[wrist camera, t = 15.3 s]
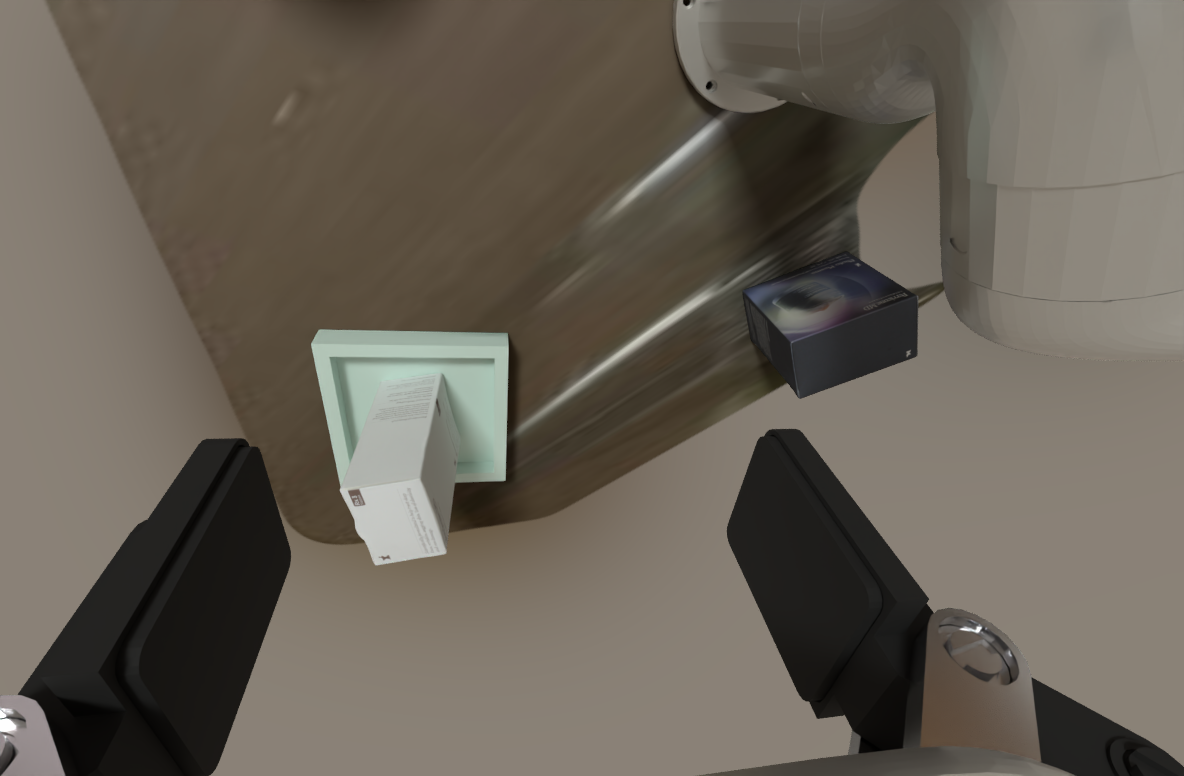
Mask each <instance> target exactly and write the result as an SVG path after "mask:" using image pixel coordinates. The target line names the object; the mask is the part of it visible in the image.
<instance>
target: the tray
mask: <svg viewBox="0 0 1184 776" xmlns="http://www.w3.org/2000/svg"><path fill="white" fill-rule="evenodd" d="M311 346H312V351H313V356H314V360H315V365H316V370H317V375H318V380H319V384H320V389H321V394H322V399H323V404H324V408H325V413H326V418H327V423H328V428H329V432H330V437H331V442H332V447H333V452H334V456H335V461H336V466H337V471H338V476H339V480H340V485H341V486H342V483H343V481H344V478H345V475H346V473H347V470H348V467H349V465H350V462H351V460H352V457H353V454H354V451H355V449H356V446H357V444H358V441H359V438H360V435H361V433H362V430H363V428H364V425H365V422H366V420H367V417H368V414H369V412H370V409H371V406H372V404H373V401H374V398H375V395H376V393H377V390H378V388H379V385H380V382H381V381H385V380H392V379H399V378H406V377H413V376H421V375H428V374H435V373H442V374H443V378H444V383H445V388H446V392H447V396H448V400H449V404H450V407H451V411H452V414H453V417H454V421H455V424H456V427H457V429H458V431H459V434H460V447H459V454H458V462H457V469H456V478H455V483H456V482H486V481H506V440H507V396H508V353H509V344H508V333H476V332H422V331H367V330H318V332H317V334H316V336H315V338H314V339H313V341H312V343H311Z"/></svg>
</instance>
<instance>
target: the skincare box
mask: <svg viewBox="0 0 1184 776" xmlns="http://www.w3.org/2000/svg"><path fill="white" fill-rule="evenodd" d="M459 447H460V434H459V431H458V429H457V427H456V424H455V421H454V417H453V414H452V411H451V407H450V404H449V400H448V396H447V392H446V388H445V383H444V378H443V374H442V373H435V374H428V375H421V376H413V377H406V378H399V379H392V380H385V381H381V382H380V385H379V388H378V390H377V393H376V395H375V398H374V401H373V404H372V406H371V409H370V412H369V414H368V417H367V420H366V422H365V425H364V428H363V430H362V433H361V435H360V438H359V441H358V444H357V446H356V449H355V451H354V454H353V457H352V460H351V462H350V465H349V467H348V470H347V473H346V475H345V478H344V481H343V483H342V486H341V489H340V492H341V494H342V496H343V498H344V500H345V502H346V504H347V506H348V508H349V510H350V512H351V514H352V516H353V518H354V520H355V528H356V531H357V533H358V534H359V536H360V537H361V538H362V539H363V540H364V541H365V543H366V545H367V546H368V549H369V551H370V554H371V557H372V560H373V563H374V564H375V565H382V564H387V563H393V562H399V561H405V560H410V559H416V558H422V557H430V556H437V555H443V554H446V553H447V541H448V533H449V525H450V517H451V509H452V501H453V494H454V486H455V478H456V469H457V462H458V454H459Z"/></svg>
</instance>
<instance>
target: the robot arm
mask: <svg viewBox="0 0 1184 776" xmlns="http://www.w3.org/2000/svg"><path fill="white" fill-rule="evenodd" d="M673 35H674V44H675V49H676V52H677V56H678V59H679V62H680V65H681V67H682V69H683V71H684V73H685V75H686V77H687V79H688V81H689V82H690V83H691V84H692V86H693V87H694V88H695V90H696V91H697V92H698V93H699V94H700V95H701V96H703V97H704V98H705V99H706V100H708V101H709V102H710V103H712V104H714V105H716V106H718V107H720V108H722V109H726V110H729V111H732V112H738V113H748V114H749V113H757V112H764V111H767V110H770V109H773V108H776V107H779V106H781V105H782V104H784V103H786V102H792V103H796V104H800V105H803V106H807V107H811V108H814V109H818V110H822V111H825V112H829V113H833V114H837V115H840V116H844V117H848V118H851V119H855V120H859V121H863V122H870V123H877V124H888V123H899V122H904V121H908V120H912V119H915V118H918V117H921V116H924V115H927V114H929V113H932V112H934V111H936V123H937V155H938V158H939V189H940V245H941V267H942V276H943V285H944V289H945V293H946V297H947V299H948V302H949V304H950V306H951V308H952V309H953V311H954V313H955V314H956V316H957V317H958V318H959V319H960V321H962V322H963V323H964V324H965V325H966V326H967V327H969V328H970V329H971V330H972V331H974V332H975V333H977V334H978V335H980V336H982V337H984V338H986V339H988V340H990V341H993V342H995V343H997V344H1000V345H1003V346H1006V347H1009V348H1013V349H1016V350H1020V351H1025V352H1030V353H1034V354H1039V355H1046V356H1055V357H1062V358H1074V359H1088V360H1113V361H1114V360H1115V361H1184V0H689V2H688V5H687V6H685V5H684V4H683V0H674V5H673ZM709 81H710V83H711V86H710V88H709V89H706V84H707V82H709ZM727 537H728V541H729V544H730V546H731V549H732V551H733V553H734V555H735V557H736V559H737V562H738V564H739V566H740V568H741V570H742V572H743V575H744V577H745V579H746V581H747V583H748V585H749V588H750V590H751V592H752V594H753V596H754V598H755V601H756V603H757V605H758V607H759V609H760V612H761V613H762V616H763V618H764V620H765V622H766V625H767V627H768V629H769V631H770V633H771V635H772V637H773V640H774V642H775V644H776V646H777V648H778V650H779V653H780V655H781V657H782V659H783V661H784V663H785V666H786V668H787V670H788V672H789V674H790V677H791V679H792V681H793V683H794V685H795V687H796V690H797V692H798V693H799V695H800V696H801V698H802V699H803V700H805V701H809V702H810V704H811V706H812V709H813V711H814V713H815V715H816V717H817V718H818V719H820V718H828V717H835V716H843V715H845V716H846V718H847V720H848V722H849V724H850V726H851V728H852V734H851V740H850V747H849V752H848V755H845V756H837V757H828V758H820V759H813V760H805V761H798V762H791V763H784V764H778V765H770V766H763V767H756V768H749V769H741V770H734V771H728V772H720V773H713V774H706V775H699V776H1184V767H1183V766H1182V765H1181V764H1180V763H1179V762H1177V761H1176V760H1175V759H1174V758H1173V757H1171V756H1170V755H1169V754H1168V753H1166V752H1165V751H1164V750H1162V749H1160V748H1159V747H1157V746H1156V745H1154V744H1153V743H1151V742H1150V741H1148V740H1146V739H1144V738H1143V737H1141V736H1139V735H1137V734H1135V733H1133V732H1132V731H1130V730H1128V729H1126V728H1124V727H1122V726H1120V725H1119V724H1117V723H1114V722H1113V721H1111V720H1109V719H1107V718H1106V717H1104V716H1102V715H1100V714H1098V713H1096V712H1095V711H1093V710H1091V709H1089V708H1087V707H1085V706H1083V705H1082V704H1080V703H1078V702H1076V701H1074V700H1072V699H1071V698H1068V697H1067V696H1065V695H1063V694H1061V693H1059V692H1058V691H1056V690H1054V689H1052V688H1050V687H1048V686H1047V685H1045V684H1043V683H1041V682H1039V681H1037V680H1036V679H1033V678H1032V677H1031V673H1030V670H1029V667H1028V663H1027V661H1026V659H1025V658H1024V656H1023V654H1022V653H1021V651H1020V650H1019V648H1018V647H1017V646H1016V645H1015V644H1014V643H1013V642H1012V640H1011V639H1010V638H1009V637H1008V636H1007V635H1006V634H1005V633H1003V632H1002V631H1001V630H1000V629H998V628H997V627H996V626H994V625H993V624H992V623H990V622H988V621H986V620H985V619H983V618H981V617H979V616H978V615H976V614H973V613H970V612H967V611H964V610H961V609H954V608H945V609H941V610H937V611H936V612H935V613H933V611H932V610H931V609H930V607H929V606H928V605H927V602H928V600H929V598H928V597H927V596H926V594H925V593H924V592H923V590H922V589H921V588H920V586H919V585H918V584H917V582H916V581H915V580H914V579H913V577H912V576H911V575H910V573H909V572H908V571H907V569H906V568H905V567H904V565H903V564H902V563H901V561H900V560H899V559H898V558H897V556H896V555H895V554H894V553H893V551H892V550H891V549H890V547H889V546H888V544H887V543H886V542H885V541H884V539H883V538H882V537H881V536H880V534H879V533H878V531H877V530H876V529H875V527H874V526H873V525H872V523H871V522H870V521H869V520H868V518H867V517H866V516H865V514H864V513H863V512H862V510H861V509H860V508H859V506H858V505H857V504H856V502H855V501H854V500H853V499H852V497H851V496H850V495H849V493H848V492H847V491H846V489H845V488H844V487H843V485H842V484H841V483H840V481H839V480H838V479H837V478H836V476H835V475H834V474H833V472H832V471H831V470H830V468H829V467H828V466H827V465H826V463H825V462H824V460H823V459H822V458H821V457H820V455H819V454H818V453H817V451H816V450H815V449H814V447H813V446H812V445H811V443H810V442H809V441H808V440H807V438H806V437H805V436H804V434H803V433H802V432H801V431H800V430H797V429H772V430H769V431H768V432H767V433H766V434H765V436H764V437H760V438H759V439H758V441H757V444H756V447H755V449H754V452H753V455H752V458H751V461H750V464H749V466H748V469H747V472H746V475H745V478H744V480H743V484H742V486H741V489H740V492H739V495H738V497H737V500H736V503H735V506H734V509H733V511H732V514H731V517H730V520H729V523H728V526H727ZM290 561H291V551H290V547H289V543H288V541H287V537H286V533H285V530H284V527H283V524H282V520H281V517H280V514H279V510H278V507H277V504H276V501H275V497H274V494H273V491H272V488H271V484H270V481H269V478H268V475H267V471H266V468H265V465H264V461H263V458H262V455H261V452H260V450H259V448H258V447H250V446H249V444H248V442H247V441H246V440H245V439H241V438H238V439H237V438H235V439H206V440H203V441H202V442H201V443H200V444H199V445H198V447H197V448H196V449H195V451H194V452H193V454H192V455H191V457H190V459H189V460H188V461H187V463H186V464H185V466H184V467H183V468H182V470H181V472H180V473H179V474H178V476H177V477H176V479H175V480H174V482H173V483H172V485H171V486H170V487H169V489H168V490H167V492H166V493H165V495H164V496H163V498H162V499H161V501H160V502H159V504H158V505H157V507H156V508H155V509H154V511H153V512H152V514H151V515H150V517H149V518H148V520H145V521H143V522H142V523H140V524H138V525H137V526H136V527H135V528H134V530H133V531H132V532H131V533H130V534H129V536H128V537H127V539H126V540H125V542H124V543H123V544H122V546H121V547H120V549H119V550H118V552H117V553H116V555H115V556H114V558H113V559H112V560H111V562H110V563H109V564H108V566H107V567H106V569H105V570H104V572H103V573H102V574H101V576H100V578H99V579H98V580H97V582H96V583H95V585H94V586H93V587H92V589H91V590H90V592H89V593H88V595H87V596H86V597H85V599H84V600H83V602H82V603H81V605H80V606H79V607H78V609H77V610H76V612H75V613H74V615H73V616H72V618H71V619H70V620H69V622H68V623H67V625H66V626H65V628H64V629H63V631H62V632H61V633H60V635H59V636H58V638H57V639H56V641H55V642H54V643H53V645H52V646H51V648H50V649H49V651H48V652H47V654H46V655H45V656H44V658H43V659H42V661H41V662H40V663H39V665H38V666H37V668H36V669H35V671H34V672H33V674H32V675H31V676H30V678H29V679H28V681H27V682H26V683H25V685H24V686H23V688H22V689H21V691H20V692H19V693H18V695H0V776H209V775H211V774H212V773H213V772H214V770H215V769H216V767H217V765H218V763H219V761H220V758H221V755H222V752H223V750H224V747H225V744H226V742H227V738H228V736H229V733H230V730H231V728H232V725H233V722H234V719H235V716H236V714H237V711H238V708H239V706H240V703H241V700H242V697H243V694H244V692H245V689H246V686H247V684H248V681H249V678H250V675H251V672H252V669H253V667H254V664H255V662H256V659H257V656H258V653H259V650H260V648H261V645H262V642H263V639H264V637H265V634H266V631H267V628H268V626H269V623H270V620H271V617H272V615H273V612H274V609H275V606H276V604H277V601H278V598H279V595H280V593H281V590H282V587H283V584H284V582H285V579H286V576H287V573H288V570H289V567H290Z"/></svg>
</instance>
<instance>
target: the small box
mask: <svg viewBox="0 0 1184 776" xmlns="http://www.w3.org/2000/svg"><path fill="white" fill-rule="evenodd" d="M743 299H744V305H745V310H746V316H747V321H748V326H749V332H750V337H751V341H752V342H753V343H754V344H756V345H757V347H758V348H759V349H760V350H761V351H762V353H763V354H764V355H765V356H766V357H767V359H768V360H769V361H770V362H771V364H772V365H773V366H774V367H775V369H776V370H777V371H778V372H779V374H780V375H781V376H782V377H783V378H784V379H785V380H786V382H787V383H788V384H789V385H790V387H791V388H792V389H793V390H794V392H795V393H796V395H797V396H798V398H800V399H801V398H804V397H807V396H809V395H812V394H815V393H817V392H820V391H823V390H825V389H828V388H831V387H834V386H837V385H839V384H842V383H845V382H848V381H851V380H853V379H856V378H859V377H862V376H864V375H867V374H870V373H873V372H875V371H878V370H881V369H884V368H887V367H889V366H892V365H895V364H897V363H900V362H903V361H906V360H909V359H911V358H914V357H916V356H917V354H918V353H917V352H918V351H917V340H918V339H917V338H918V296H917V295H915V294H913V293H911V292H910V291H908V290H907V289H905V288H904V287H902V286H901V285H899V284H897V283H896V282H894V281H893V280H891V279H889V278H888V277H886V276H884V275H883V274H881V273H880V272H878V271H877V270H875V269H874V268H872V267H870V266H869V265H867V264H865V263H864V262H863V261H861V260H860V259H858V258H856V257H855V256H853V255H852V254H850V253H849V252H844V253H841V254H839V255H836V256H833V257H831V258H828V259H825V260H823V261H820V262H817V263H815V264H812V265H809V266H807V267H804V268H801V269H799V270H796V271H793V272H791V273H788V274H785V275H783V276H780V277H777V278H775V279H772V280H769V281H766V282H764V283H761V284H758V285H756V286H753V287H750V288H748V289H745V290H743Z"/></svg>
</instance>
